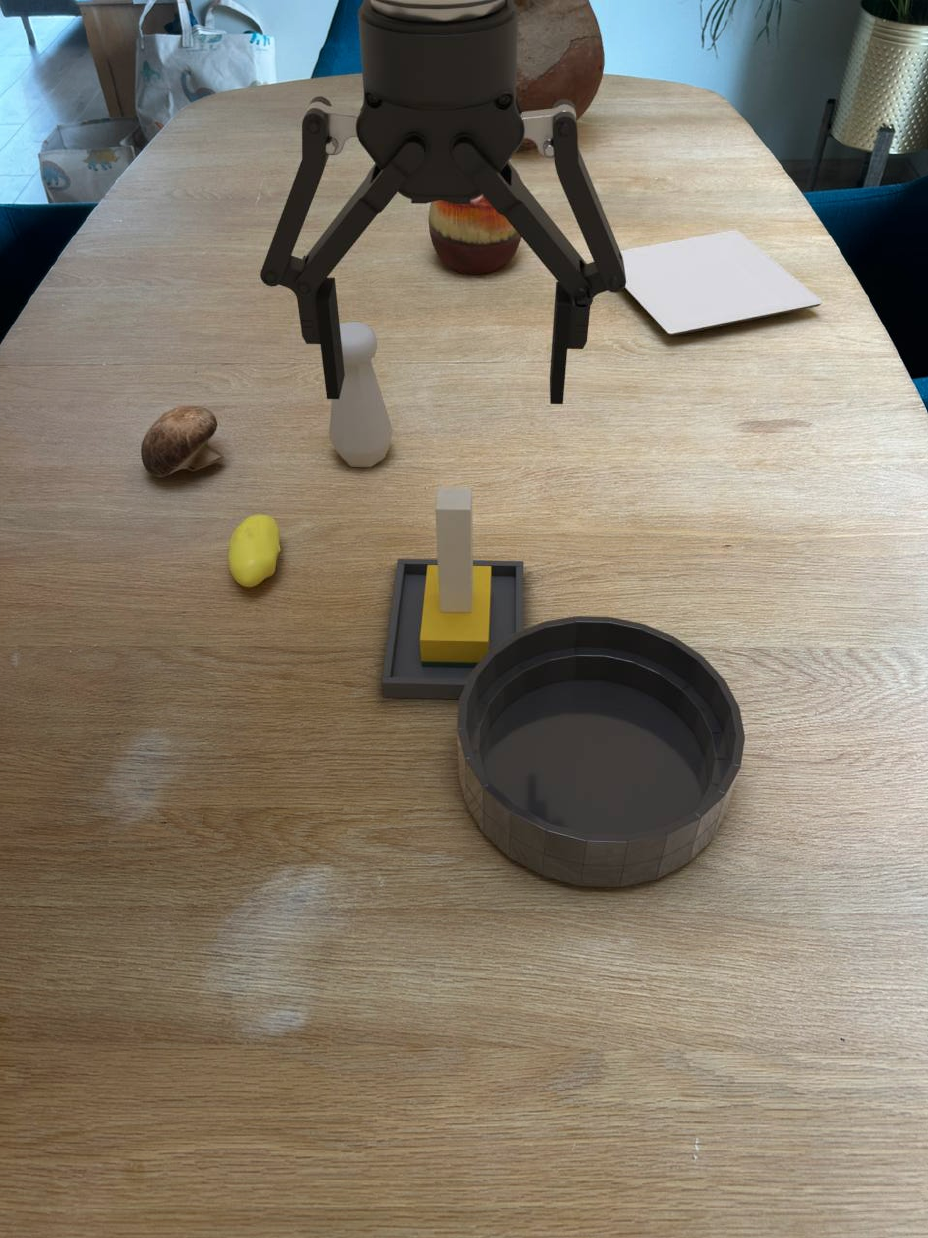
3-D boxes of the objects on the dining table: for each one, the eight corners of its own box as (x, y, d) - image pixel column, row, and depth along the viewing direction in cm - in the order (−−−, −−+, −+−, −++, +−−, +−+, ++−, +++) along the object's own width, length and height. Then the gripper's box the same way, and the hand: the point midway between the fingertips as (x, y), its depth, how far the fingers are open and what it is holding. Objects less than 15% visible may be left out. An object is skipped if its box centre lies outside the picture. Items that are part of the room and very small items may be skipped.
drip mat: (522, 701, 73) (522, 686, 72) (383, 697, 73) (381, 682, 72) (522, 575, 82) (523, 560, 81) (399, 573, 82) (397, 558, 81)
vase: (524, 239, 124) (528, 107, 112) (519, 283, 116) (523, 145, 105) (435, 236, 124) (431, 105, 113) (424, 280, 117) (418, 143, 106)
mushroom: (251, 440, 90) (200, 389, 87) (191, 505, 88) (137, 455, 85) (227, 437, 97) (178, 389, 94) (170, 497, 95) (119, 450, 92)
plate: (666, 349, 106) (669, 331, 104) (594, 270, 118) (595, 253, 116) (820, 317, 110) (825, 300, 108) (734, 244, 122) (738, 227, 120)
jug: (587, 110, 153) (604, -132, 131) (609, 167, 138) (632, -95, 117) (446, 115, 153) (440, -127, 131) (453, 173, 138) (446, -89, 116)
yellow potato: (292, 535, 86) (285, 500, 83) (272, 601, 80) (264, 566, 78) (244, 533, 86) (236, 498, 83) (221, 599, 81) (211, 564, 78)
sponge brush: (488, 668, 74) (489, 537, 65) (421, 667, 75) (412, 536, 65) (491, 593, 80) (492, 462, 71) (428, 591, 80) (421, 461, 71)
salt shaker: (325, 444, 95) (307, 319, 85) (382, 430, 96) (371, 306, 87) (343, 479, 91) (327, 353, 82) (402, 464, 92) (393, 339, 83)
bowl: (404, 767, 69) (399, 712, 65) (584, 634, 77) (590, 579, 73) (601, 951, 60) (610, 902, 55) (782, 777, 68) (802, 723, 64)
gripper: (699, -25, 49) (643, 360, 64) (190, -29, 49) (256, 352, 65) (719, 22, 43) (654, 429, 59) (151, 17, 44) (232, 419, 59)
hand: (445, 389), depth 62 cm, fingers open, 13 cm apart
